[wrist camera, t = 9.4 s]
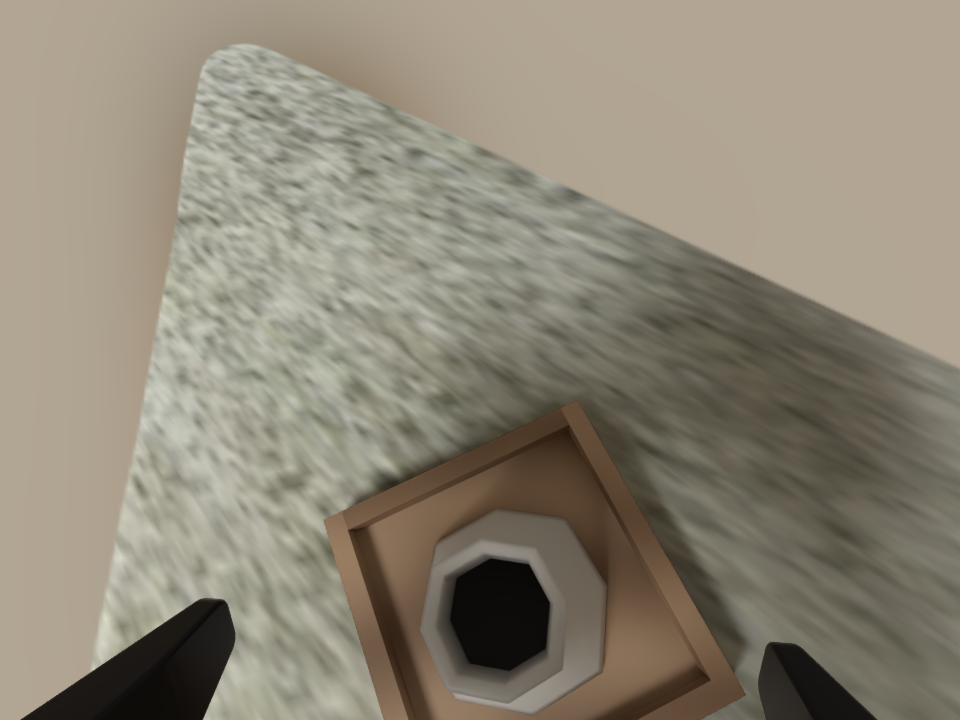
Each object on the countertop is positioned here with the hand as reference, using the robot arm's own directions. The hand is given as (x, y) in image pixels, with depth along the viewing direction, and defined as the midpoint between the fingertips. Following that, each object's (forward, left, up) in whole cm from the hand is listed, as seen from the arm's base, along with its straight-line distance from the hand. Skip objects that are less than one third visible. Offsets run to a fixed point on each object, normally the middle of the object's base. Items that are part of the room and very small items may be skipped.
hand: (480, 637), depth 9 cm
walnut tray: (0, 0, -13) cm, 13 cm away
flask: (0, 0, -13) cm, 13 cm away
